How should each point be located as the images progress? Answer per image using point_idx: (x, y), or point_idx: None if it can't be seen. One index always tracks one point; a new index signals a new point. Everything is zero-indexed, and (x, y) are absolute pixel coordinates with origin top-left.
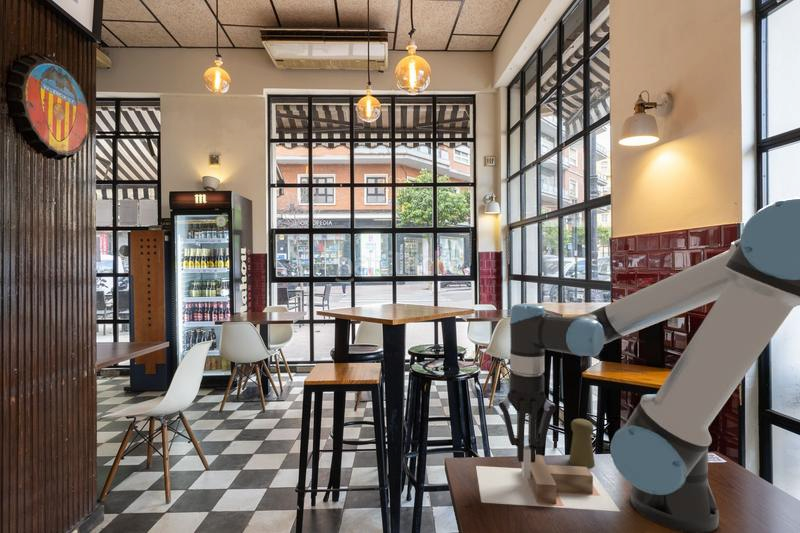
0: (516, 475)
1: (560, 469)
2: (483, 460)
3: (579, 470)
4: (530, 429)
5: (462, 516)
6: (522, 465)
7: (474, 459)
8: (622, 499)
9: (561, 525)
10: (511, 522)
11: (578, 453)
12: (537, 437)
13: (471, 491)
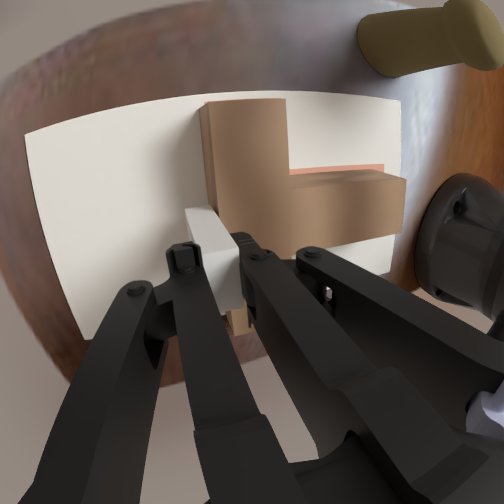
0: (165, 155)
1: (331, 216)
2: (50, 72)
3: (382, 209)
4: (283, 381)
5: (69, 383)
6: (190, 238)
7: (21, 79)
8: (411, 218)
9: (264, 354)
10: (163, 377)
11: (403, 59)
12: (309, 274)
13: (46, 294)
